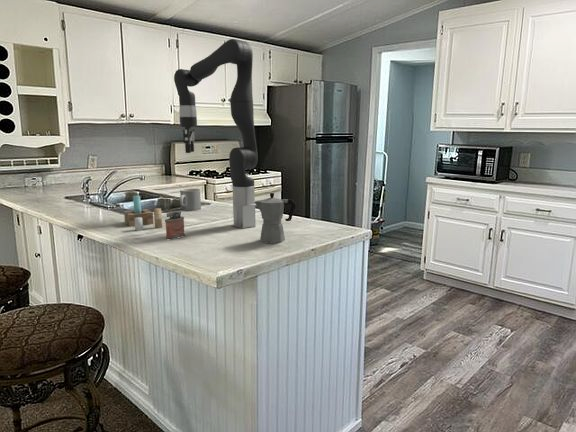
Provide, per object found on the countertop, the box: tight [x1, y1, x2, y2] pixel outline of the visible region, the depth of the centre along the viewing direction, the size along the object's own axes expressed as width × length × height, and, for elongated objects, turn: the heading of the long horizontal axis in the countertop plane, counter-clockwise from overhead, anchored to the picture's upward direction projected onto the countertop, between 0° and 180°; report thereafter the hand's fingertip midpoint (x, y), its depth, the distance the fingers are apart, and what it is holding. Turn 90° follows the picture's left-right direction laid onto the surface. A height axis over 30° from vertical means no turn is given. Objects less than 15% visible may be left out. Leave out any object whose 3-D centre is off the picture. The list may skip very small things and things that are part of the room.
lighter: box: [164, 211, 186, 240], centre depth 165 cm, size 8×3×10 cm, turn 141°
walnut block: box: [123, 208, 155, 228], centre depth 190 cm, size 10×10×5 cm
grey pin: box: [134, 217, 144, 232], centre depth 178 cm, size 3×3×5 cm
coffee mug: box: [178, 188, 202, 212], centre depth 220 cm, size 13×10×10 cm
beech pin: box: [153, 207, 163, 229], centre depth 182 cm, size 3×3×8 cm
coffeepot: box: [254, 192, 297, 244], centre depth 159 cm, size 15×9×18 cm, turn 90°
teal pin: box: [132, 195, 142, 214], centre depth 190 cm, size 3×3×12 cm
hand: (190, 152), depth 197 cm, fingers open, 8 cm apart
